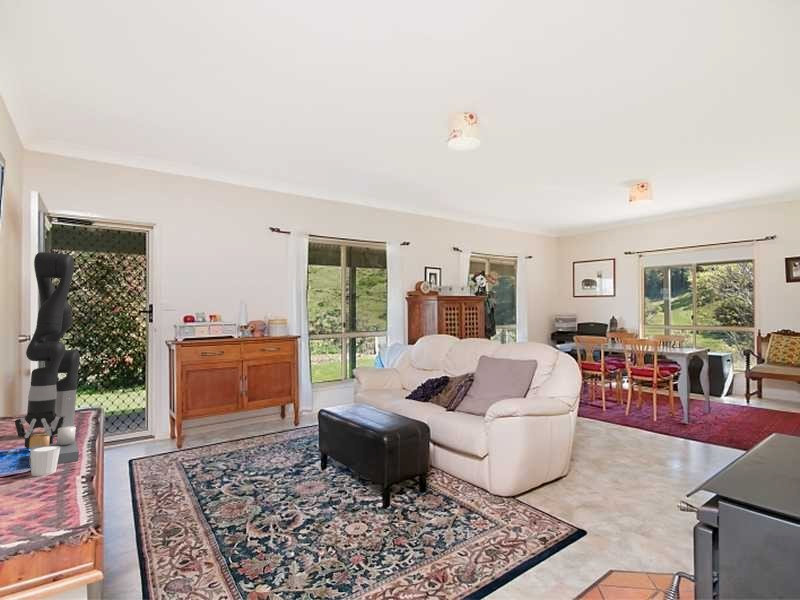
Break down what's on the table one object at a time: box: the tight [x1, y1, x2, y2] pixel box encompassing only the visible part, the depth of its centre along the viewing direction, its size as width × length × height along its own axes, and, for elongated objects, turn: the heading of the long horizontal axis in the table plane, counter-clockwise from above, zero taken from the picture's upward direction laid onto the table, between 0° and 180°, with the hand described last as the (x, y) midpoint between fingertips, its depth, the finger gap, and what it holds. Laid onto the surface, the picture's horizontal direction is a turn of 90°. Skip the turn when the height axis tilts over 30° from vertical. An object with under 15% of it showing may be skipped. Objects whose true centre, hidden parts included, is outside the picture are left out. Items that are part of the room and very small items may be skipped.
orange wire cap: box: [29, 433, 48, 448], centre depth 148 cm, size 5×5×5 cm
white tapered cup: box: [30, 446, 60, 477], centre depth 126 cm, size 7×7×7 cm
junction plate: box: [28, 425, 80, 466], centre depth 139 cm, size 16×12×9 cm
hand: (38, 447), depth 148 cm, fingers closed on orange wire cap, 4 cm apart
